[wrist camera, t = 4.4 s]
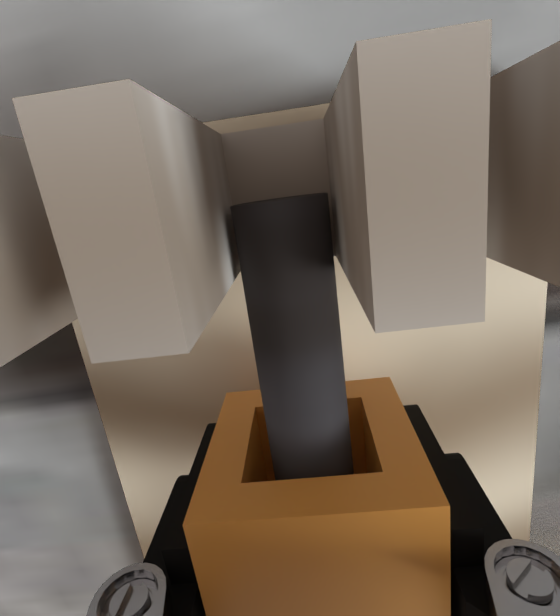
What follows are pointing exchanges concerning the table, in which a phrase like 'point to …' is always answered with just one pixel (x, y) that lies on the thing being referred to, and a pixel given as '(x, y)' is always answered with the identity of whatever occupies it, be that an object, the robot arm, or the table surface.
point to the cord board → (298, 259)
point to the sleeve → (321, 520)
